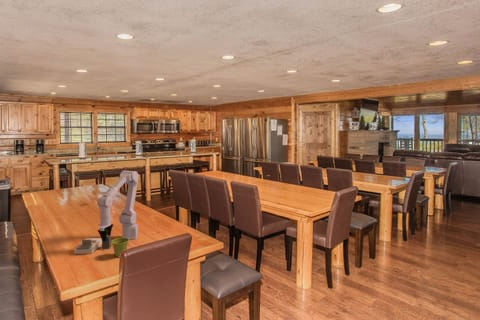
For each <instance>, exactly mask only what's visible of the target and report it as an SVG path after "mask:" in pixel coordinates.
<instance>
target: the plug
mask: <svg viewBox="0 0 480 320" xmlns="http://www.w3.org/2000/svg"><path fill="white" fill-rule="evenodd" d="M111 237H112V236H111V235H109V236H108V235H107V239H106V241H102V243H101V248H102V250H110V249H111V247H112V243H111V241H112V238H111Z"/></svg>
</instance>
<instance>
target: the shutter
mask: <svg viewBox="0 0 480 320" xmlns="http://www.w3.org/2000/svg"><path fill="white" fill-rule="evenodd" d="M89 239H90V238H89ZM81 243H82V244H81ZM81 243H80V244H81V245H80V244H79V245H80V246H79V245H78V246H79V247H78V246H76V247H77V250H81V249H89V248H90V247H91V246H92V243H91V239H90V240H85V239H82V240H81Z"/></svg>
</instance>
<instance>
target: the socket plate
mask: <svg viewBox="0 0 480 320" xmlns="http://www.w3.org/2000/svg"><path fill="white" fill-rule="evenodd" d="M90 239H91V243H92V246H91V247H90V248H89V249H81V250H77V247H79V246H80V245H81V244H82V242H81V243H80V244H78V245H77V246H76V247H75V248H74V249H73V254H74V255H81V254H82V255H83V254H84V255H86V254H87V255H88V254H94V252H95V251H96V250H97V249H98V248H99V247H100V246H102V239H101V237H98V238H95V237H94V238H91V237H90V238H85V239H84V240H90Z"/></svg>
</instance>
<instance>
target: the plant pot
mask: <svg viewBox="0 0 480 320" xmlns="http://www.w3.org/2000/svg"><path fill="white" fill-rule="evenodd" d="M129 241H130V239H128V238H122V237H117V238H116V237H115V238H113V239H111V246H112V247H113V251H114V252H113V253H114V256H115V257H117V258H120V257H119V256H120V254H121V252H122V251H123V250H126V249H127V250H128V247H129V246H128V245H129Z"/></svg>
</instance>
